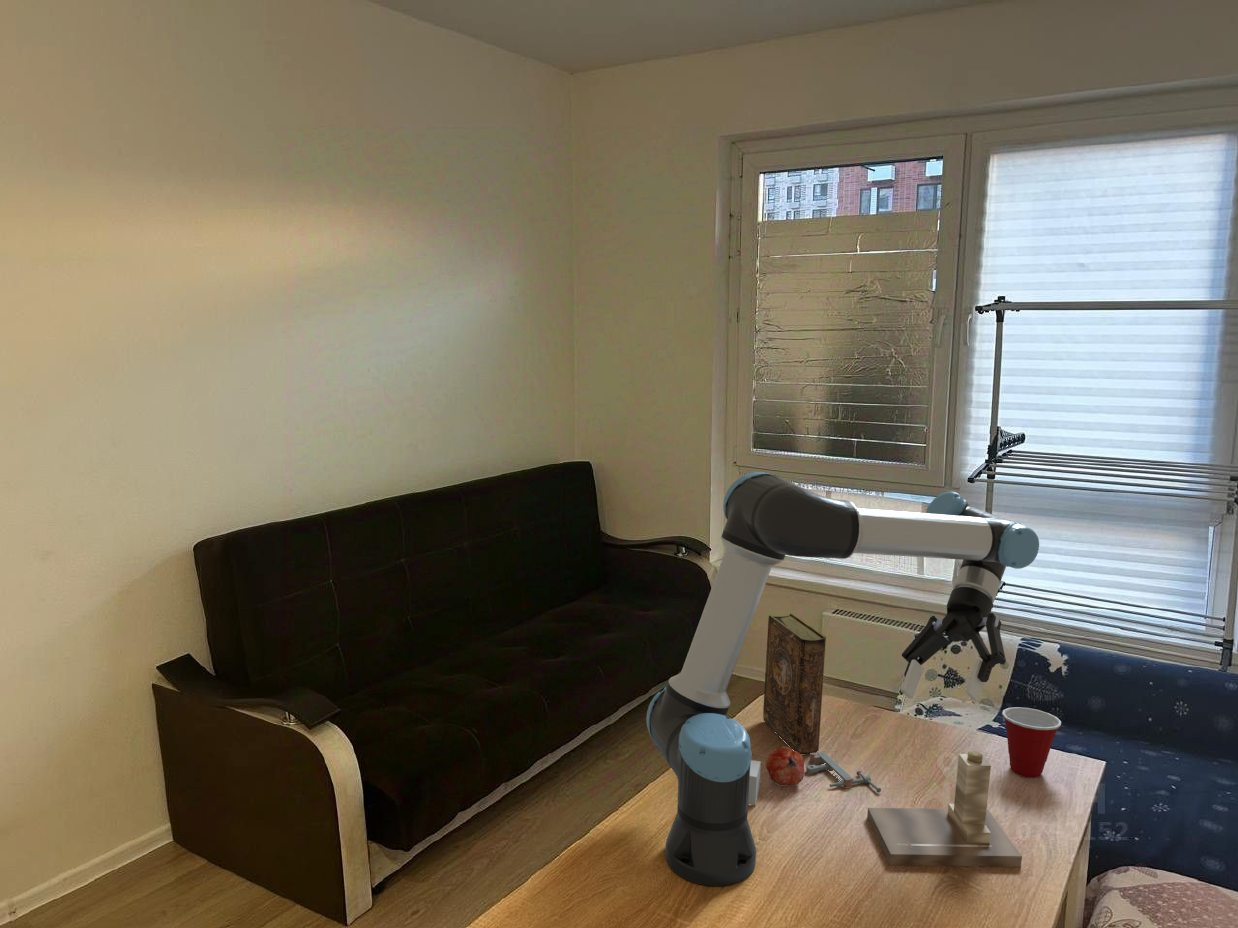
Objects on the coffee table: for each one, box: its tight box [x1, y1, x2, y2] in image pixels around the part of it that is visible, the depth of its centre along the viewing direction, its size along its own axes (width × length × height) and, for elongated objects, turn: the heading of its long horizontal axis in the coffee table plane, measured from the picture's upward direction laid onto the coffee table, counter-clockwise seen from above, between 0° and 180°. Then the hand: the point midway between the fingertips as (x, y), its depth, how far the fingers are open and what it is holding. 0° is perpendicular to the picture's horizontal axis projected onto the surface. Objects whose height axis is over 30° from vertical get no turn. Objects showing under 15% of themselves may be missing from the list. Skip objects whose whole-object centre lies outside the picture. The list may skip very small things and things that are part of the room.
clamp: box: [805, 751, 882, 794], centre depth 180 cm, size 15×2×10 cm
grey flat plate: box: [866, 807, 1023, 868], centre depth 159 cm, size 22×14×2 cm, turn 90°
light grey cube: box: [748, 759, 762, 806], centre depth 173 cm, size 6×6×6 cm
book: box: [762, 613, 827, 754], centre depth 195 cm, size 16×6×25 cm, turn 17°
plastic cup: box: [1001, 706, 1062, 779], centre depth 183 cm, size 11×11×12 cm
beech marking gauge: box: [947, 750, 992, 843], centre depth 159 cm, size 4×9×14 cm, turn 0°
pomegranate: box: [765, 746, 805, 787], centre depth 178 cm, size 7×7×10 cm
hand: (937, 695), depth 159 cm, fingers open, 13 cm apart
